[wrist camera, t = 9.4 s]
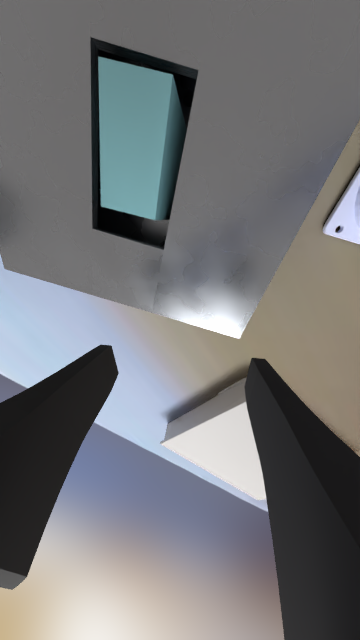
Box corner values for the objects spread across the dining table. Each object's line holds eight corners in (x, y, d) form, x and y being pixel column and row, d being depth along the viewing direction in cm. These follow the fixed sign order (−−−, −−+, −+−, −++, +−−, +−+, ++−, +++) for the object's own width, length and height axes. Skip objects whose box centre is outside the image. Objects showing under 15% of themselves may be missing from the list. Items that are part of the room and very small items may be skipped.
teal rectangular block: (188, 136, 12) (173, 74, 7) (174, 219, 14) (155, 220, 9) (145, 126, 12) (98, 56, 7) (139, 210, 15) (100, 206, 9)
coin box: (343, 58, 10) (489, -117, 5) (230, 304, 18) (239, 338, 13) (34, -37, 10) (-159, -320, 5) (63, 254, 18) (4, 268, 13)
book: (257, 500, 34) (160, 444, 28) (253, 475, 37) (165, 420, 31) (364, 482, 25) (254, 397, 20) (346, 452, 29) (248, 371, 23)
